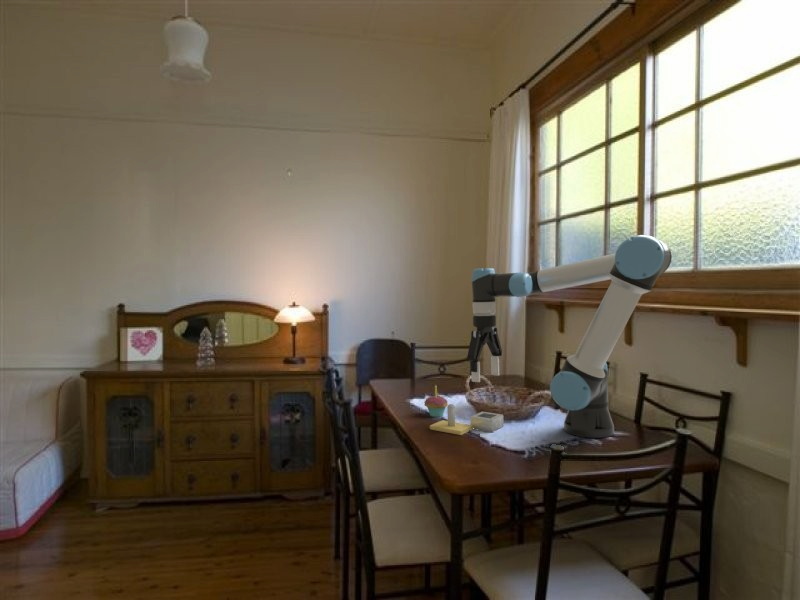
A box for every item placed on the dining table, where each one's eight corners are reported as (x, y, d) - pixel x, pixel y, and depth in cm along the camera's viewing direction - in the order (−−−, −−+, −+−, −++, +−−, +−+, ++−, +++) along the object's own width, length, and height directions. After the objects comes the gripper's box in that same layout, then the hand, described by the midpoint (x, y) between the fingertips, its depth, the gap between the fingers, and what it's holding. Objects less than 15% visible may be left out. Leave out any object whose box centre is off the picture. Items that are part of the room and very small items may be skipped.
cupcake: (448, 418, 181) (448, 385, 181) (425, 418, 181) (424, 385, 181) (446, 412, 190) (446, 380, 189) (424, 412, 190) (423, 380, 190)
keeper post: (473, 429, 167) (472, 403, 167) (461, 435, 161) (460, 408, 160) (442, 423, 174) (442, 399, 174) (429, 429, 168) (429, 404, 168)
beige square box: (503, 426, 169) (503, 414, 169) (492, 432, 163) (492, 420, 163) (482, 422, 174) (482, 411, 174) (470, 428, 168) (470, 416, 168)
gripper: (491, 312, 180) (493, 371, 180) (454, 317, 160) (456, 383, 160) (511, 312, 175) (512, 373, 176) (475, 317, 155) (477, 385, 156)
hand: (485, 378), depth 168 cm, fingers open, 13 cm apart
